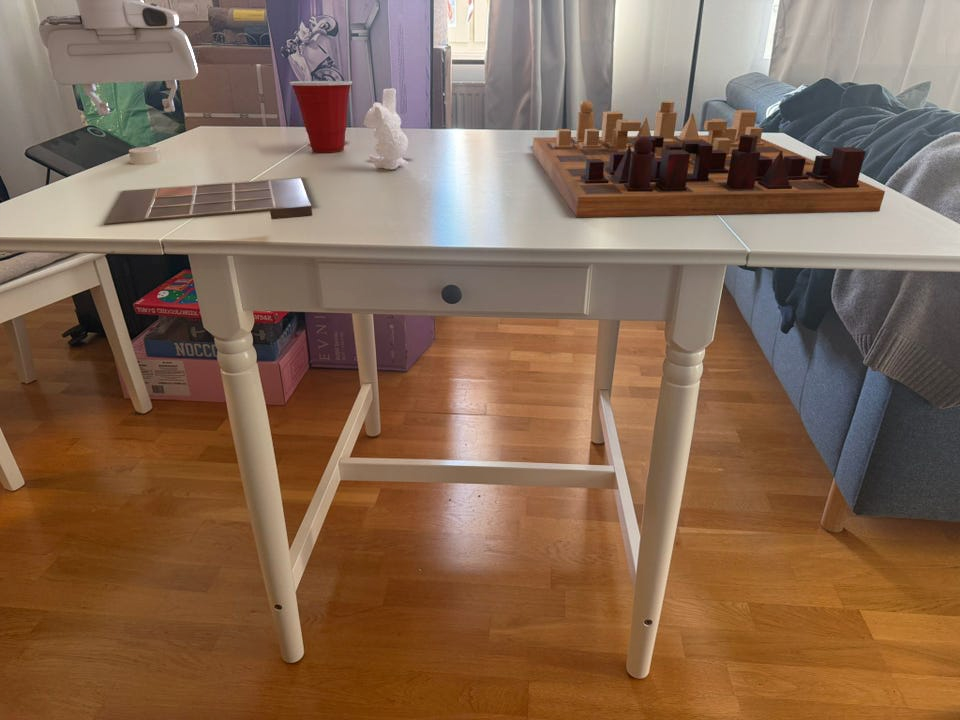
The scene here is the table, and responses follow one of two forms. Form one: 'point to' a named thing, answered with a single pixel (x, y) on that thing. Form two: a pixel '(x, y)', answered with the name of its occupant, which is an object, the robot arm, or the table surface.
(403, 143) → the white upright figurine
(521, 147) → the table surface
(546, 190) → the table surface
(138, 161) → the short white cylinder
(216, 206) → the board
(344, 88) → the plastic cup
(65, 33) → the robot arm
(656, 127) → the gameboard
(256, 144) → the table surface
